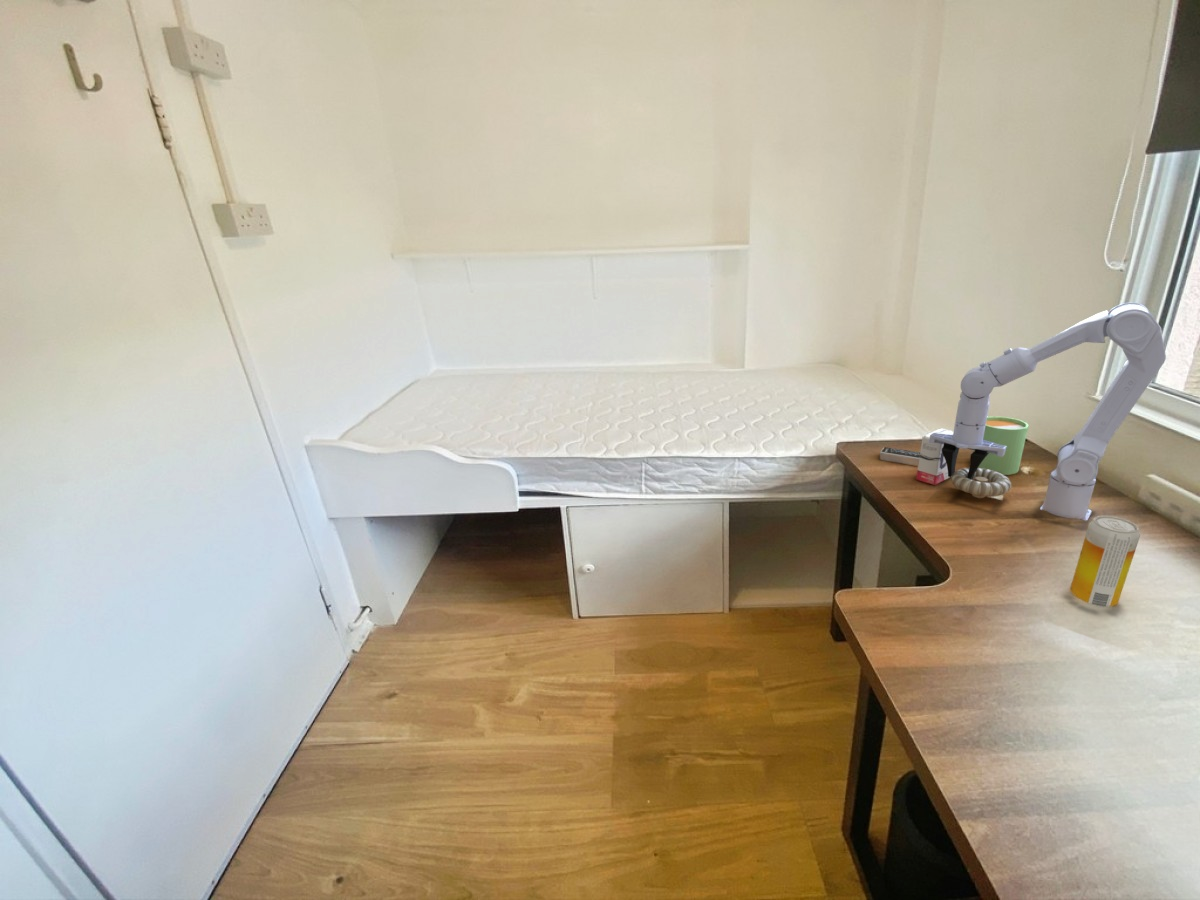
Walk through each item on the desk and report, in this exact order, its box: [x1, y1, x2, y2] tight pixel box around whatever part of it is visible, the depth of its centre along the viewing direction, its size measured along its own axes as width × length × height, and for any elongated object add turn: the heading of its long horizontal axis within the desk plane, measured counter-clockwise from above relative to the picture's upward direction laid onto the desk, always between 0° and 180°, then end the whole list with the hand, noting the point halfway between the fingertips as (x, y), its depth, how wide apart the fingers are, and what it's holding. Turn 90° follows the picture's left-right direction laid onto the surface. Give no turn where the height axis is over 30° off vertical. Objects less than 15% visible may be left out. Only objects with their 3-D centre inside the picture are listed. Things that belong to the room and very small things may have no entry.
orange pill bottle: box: [1069, 515, 1141, 607], centre depth 90 cm, size 6×6×15 cm
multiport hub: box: [879, 446, 920, 467], centre depth 149 cm, size 4×11×2 cm, turn 52°
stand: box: [971, 477, 1004, 501], centre depth 125 cm, size 8×8×6 cm
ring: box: [950, 467, 1012, 497], centre depth 125 cm, size 11×11×3 cm
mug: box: [972, 416, 1030, 476], centre depth 141 cm, size 13×10×12 cm
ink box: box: [915, 428, 954, 486], centre depth 137 cm, size 8×5×12 cm, turn 122°
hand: (960, 477), depth 127 cm, fingers closed on ring, 3 cm apart
